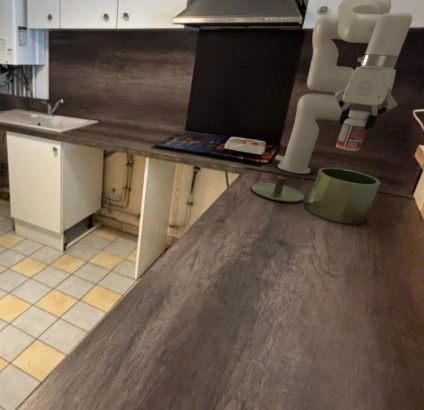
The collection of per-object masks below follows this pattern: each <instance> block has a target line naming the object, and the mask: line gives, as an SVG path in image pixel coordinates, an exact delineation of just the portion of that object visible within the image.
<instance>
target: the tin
mask: <svg viewBox="0 0 424 410" xmlns="http://www.w3.org/2000/svg"><path fill="white" fill-rule="evenodd" d="M316 174H317V175H316V177H315V181H314V183H313V185H312V189H311V192H310V195H309V198H308V201H307V204H306V209H307V210H308V211H309V212H311V213H312V214H314V215H315V216H317V217H320V218H323V219H325V220H329V221H332V222H336V223H339V224H340V223H341V224H348V225H358V224H363V223H364V221H366V219H367V216H368V213H369V211H370V209H371V207H372V204H373V201H374V200H375V197H376V195H377V192H378V190H379V188H380V186H381V181H380V180H379V179H378V178H376V177H374V176H371V175H368V174H366V173H363V172H359V171H355V170H351V169H347V168H338V167H321V168H318V172H317V173H316Z"/></svg>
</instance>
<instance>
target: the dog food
mask: <svg viewBox="0 0 424 410" xmlns="http://www.w3.org/2000/svg"><path fill="white" fill-rule="evenodd" d="M266 145H267V144H266V141H263V140H258V139H251V138H244V137H239V136H230V137H229V138H228V140H227V141H226V142H225V144H224V149H225V150H228V151H233V152H237V153H244V154H251V155H258V156H262V155H263V154H264V153H265V151H266V148H267V147H266Z"/></svg>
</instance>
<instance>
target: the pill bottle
mask: <svg viewBox="0 0 424 410" xmlns="http://www.w3.org/2000/svg"><path fill="white" fill-rule="evenodd" d="M349 111H350V112H349V114H348V116H349V118H348V119H346V120H345V121H344V123H343V125H342V126H341V130H340V132H339V135H338V138H337V140H336V144H335V147H336V148H338V149H341V150H344V151H349V152H357V151H359V150H360V149H361V146H362V143H363V140H364V138H365V136H366V133H367V131H368V130H367V129H365V126H366V123H367V120H368V118H369V116H370V115H372V112H369V111H365V110H358V109H357V110H356V109H350V110H349Z"/></svg>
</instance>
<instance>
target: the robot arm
mask: <svg viewBox="0 0 424 410" xmlns="http://www.w3.org/2000/svg"><path fill="white" fill-rule="evenodd" d="M391 9H392V0H342V1H341V2H340V4H339V6H338V8H337V13H326V14H323V15H322V16H320V17H319V18H318V19H317V20H316V22H315V24H314V26H313V30H312V39H311V40H312V43H311V44H312V56H311V57H312V58H311V61H310V66H309V70H308V75H307V80H306V86H307V88H308V89H309V90H311V91H318V92H319V91H320V92H329V93H334V94H324V93H306V94H304V95H301V97H300V98H299V99H298V101H297V106H296V113H295V118H294V119H295V120H294V123H293V127H292V131H291V134H290V137H289V141H288V144H287V148H286V151H285V153H284V156H282V155H280V154H277V155H276V156H275V159H274V160H275V161H278V162H279V163H278V164H277V168H278V169H280V170H282V171H284V172H287V173H293V174H297V175H307V174H311V172H312V171H311V168H310V167H309V164H310V161H311V157H312V155H313V152H314V149H315V145H316V143H317V140H318V136H319V133H320V127H319V125H318V122H317V120H324V121H334V122H335V121H339V125H342V126H343V123H344V121H345V120H346V119H348V118H350V117H349V116H348V114H349V112H350V110H351V108H352V107H353V106H354V105H355V104H358V105H365V106H370V107H371V114H370V116H369V118H368V119H366V121H367V123H366V126H365V129H367V130H366V131H368V130H372V129H373V128H374V127H375V126H376V123H377V121H378V119H379V118H378V117H379V116H381V115H383V114H384V113H386V112H388V111H390V110H392V109H393V108H395V107H397V106H398V103H397V101H396V100H395V99H394V97H393V95H392V90H393V86H394V83H395V77H396V73H397V72H396V71H397V69H395V66H396V64H397V61H398V58H399V56H400V53H401V50H402V48H403V45H404V43H405V40H406V38H407V35H408V32H409V30H410V27H411V25H412V23H413V15H412V14H411V13H409V12H390V11H391ZM333 40H343V41H344V42H347V43H356V44H357V43H359V44H367V48H366V50H365V53H364V54H363V55H362V56H359V57H358V58H357V60H356V61H357V63H360V66H356V68H355V69H354V68H352V67H349V66H341V65H340V66H339V65H337V64H338V63H337V62H338V58H339V54H340V53H339V49H338V47H337V45H336V43H335V41H333ZM385 104H387V105H385ZM384 105H385V106H384ZM382 106H383V107H382Z"/></svg>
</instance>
